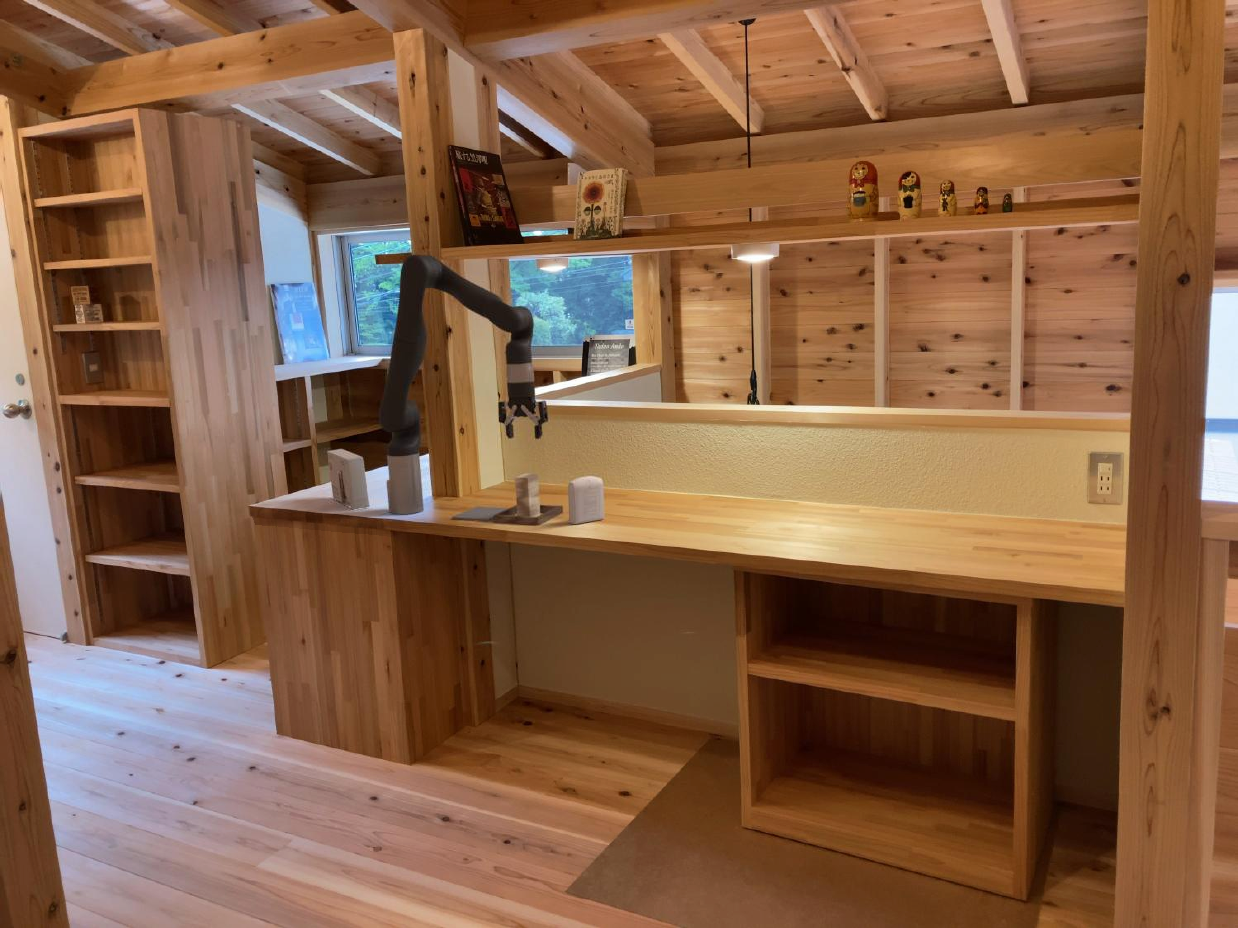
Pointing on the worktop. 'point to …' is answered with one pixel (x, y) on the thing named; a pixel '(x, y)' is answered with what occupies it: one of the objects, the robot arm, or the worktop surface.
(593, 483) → the photo printer
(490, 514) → the grey mat
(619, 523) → the worktop surface
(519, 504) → the block
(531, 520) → the frame
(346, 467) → the skincare box
